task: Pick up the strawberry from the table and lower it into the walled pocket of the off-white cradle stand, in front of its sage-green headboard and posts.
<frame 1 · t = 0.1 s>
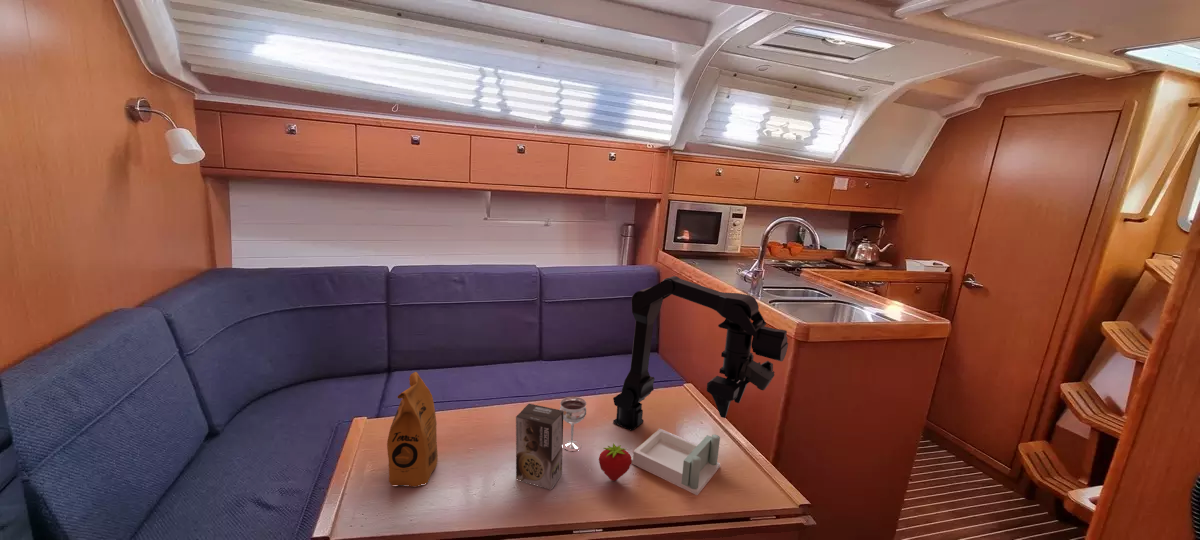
hand: (730, 409, 108), 15 cm above the table, tool pointing down, fingers open, 9 cm apart
coffee box: (539, 477, 103), on the table
wineglass: (571, 446, 116), on the table
strawberry: (613, 481, 103), on the table
coffee package: (414, 472, 103), on the table
cradle stand: (674, 464, 110), on the table
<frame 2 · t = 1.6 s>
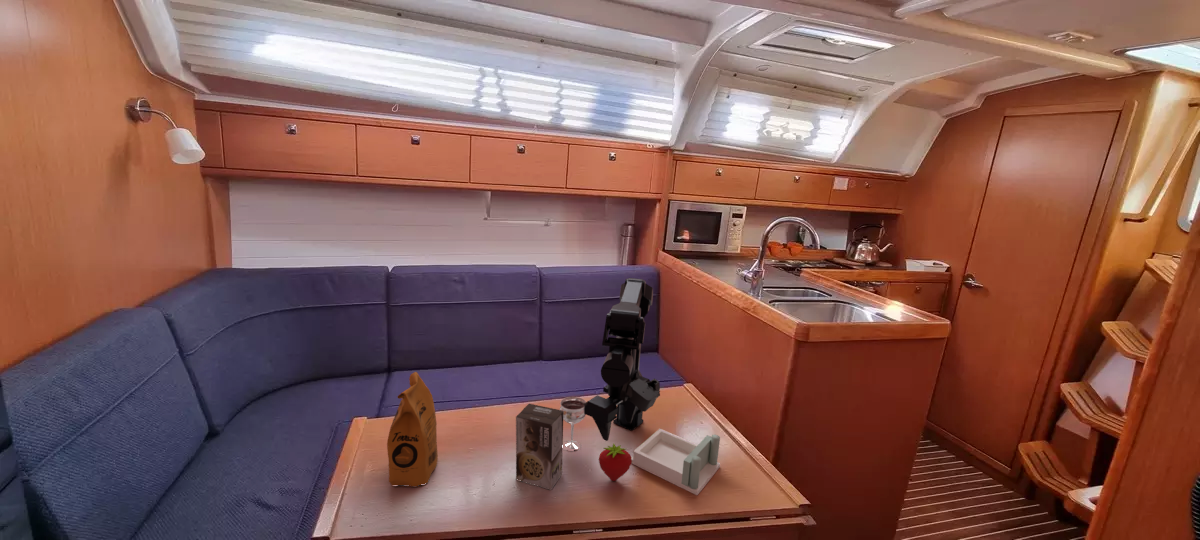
hand: (617, 430, 100), 13 cm above the table, tool pointing down, fingers open, 9 cm apart
nothing on the table moved.
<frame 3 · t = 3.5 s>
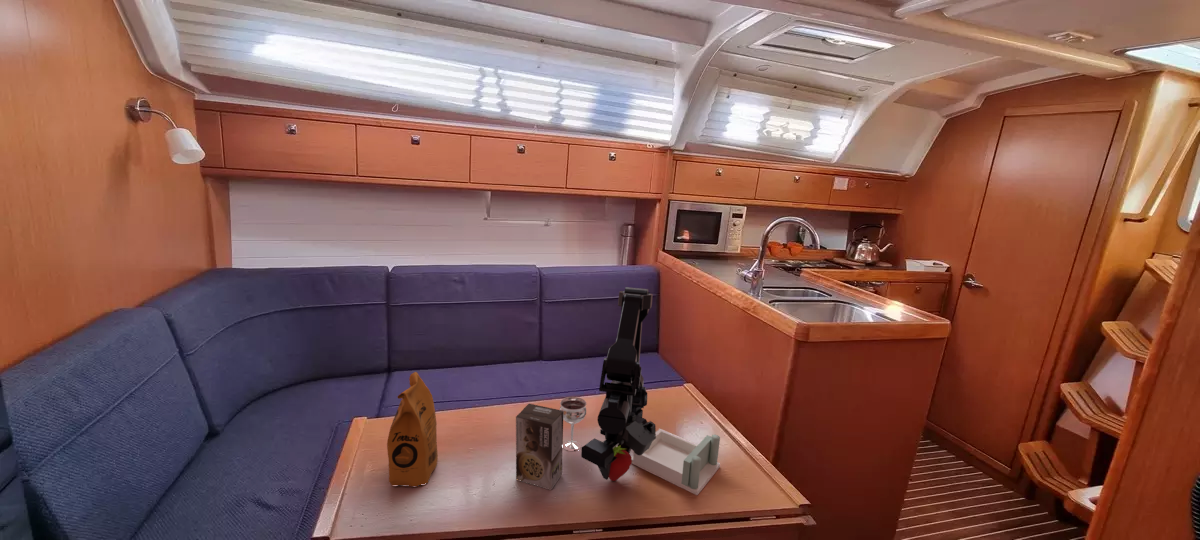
hand: (614, 471, 103), 3 cm above the table, tool pointing down, fingers closed on strawberry, 6 cm apart
strawberry: (613, 481, 103), on the table, touching gripper
everything else where it was.
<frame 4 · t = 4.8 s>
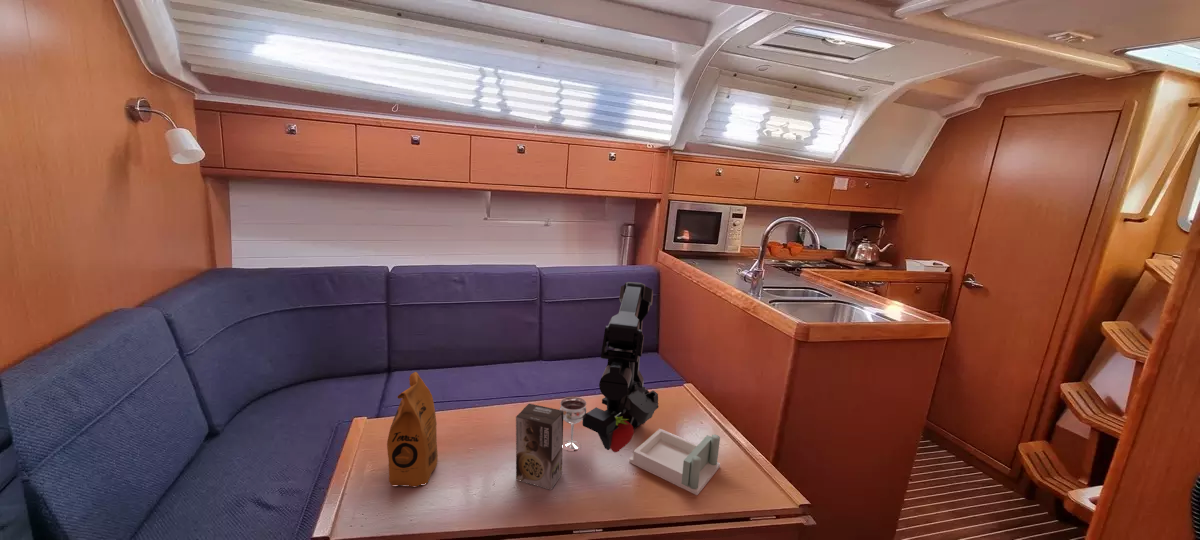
hand: (616, 442, 101), 10 cm above the table, tool pointing down, fingers closed on strawberry, 6 cm apart
strawberry: (615, 453, 102), point 7 cm above the table, touching gripper
everything else where it was.
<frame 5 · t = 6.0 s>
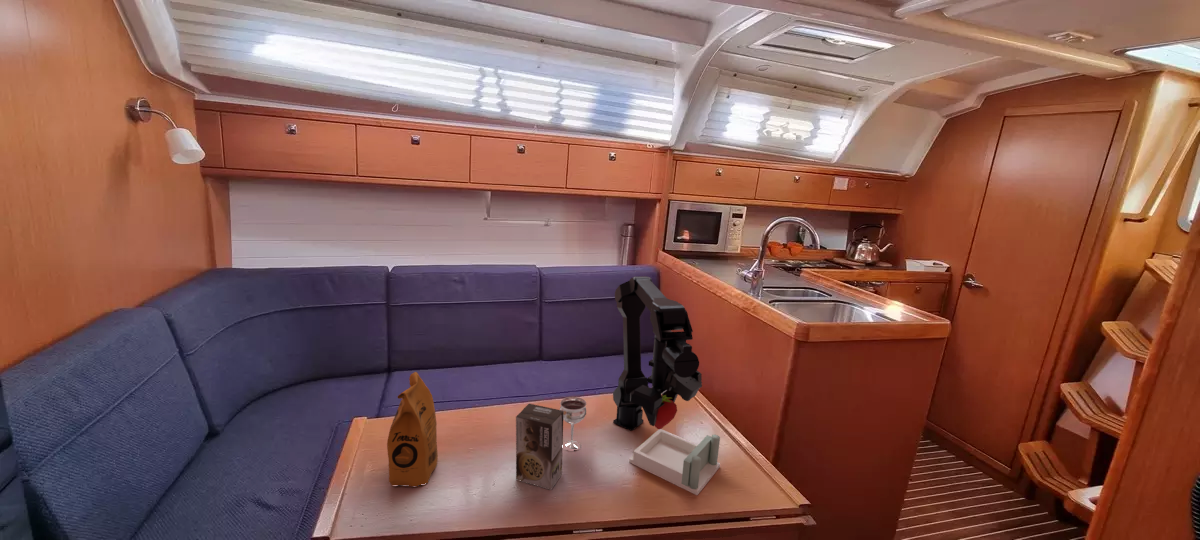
hand: (659, 419, 106), 13 cm above the table, tool pointing down, fingers closed on strawberry, 6 cm apart
strawberry: (659, 429, 107), point 10 cm above the table, touching gripper
everything else where it was.
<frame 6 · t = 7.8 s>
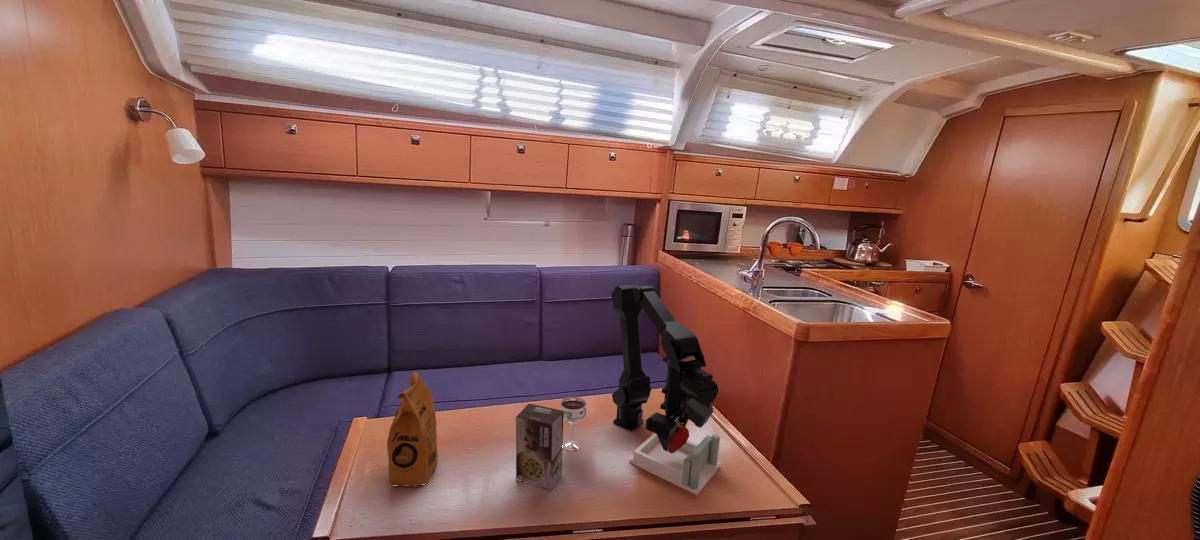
hand: (672, 443, 110), 5 cm above the table, tool pointing down, fingers closed on strawberry, 6 cm apart
strawberry: (671, 453, 110), point 2 cm above the table, touching gripper
everything else where it was.
when the fingers open (5 cm above the table, at t = 8.7 s): strawberry drops 1 cm, resting on cradle stand.
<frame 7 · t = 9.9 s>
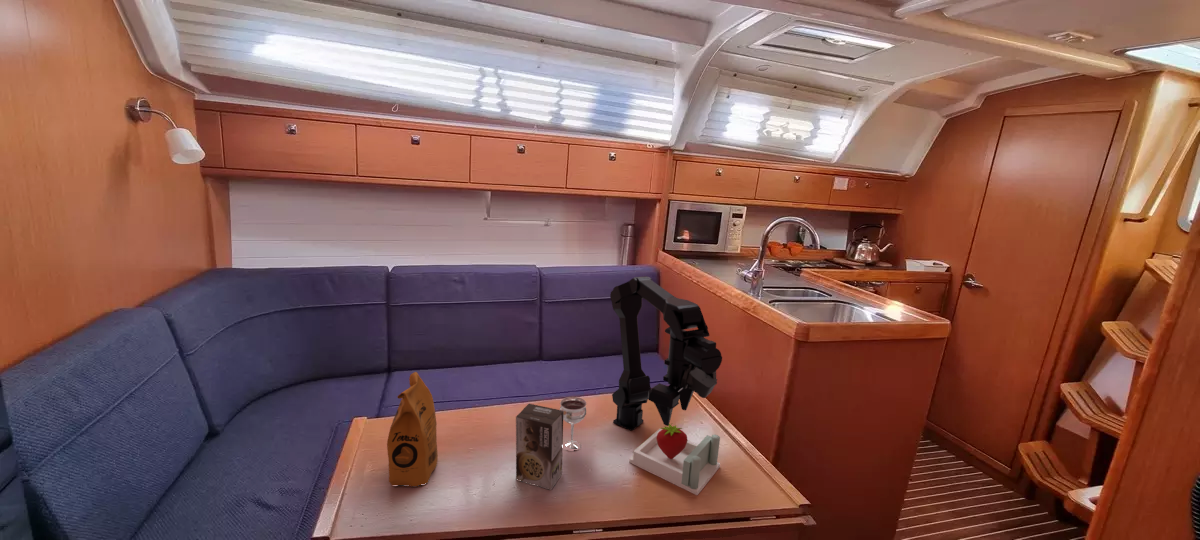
hand: (675, 417, 108), 12 cm above the table, tool pointing down, fingers open, 9 cm apart
strawberry: (671, 459, 111), point 1 cm above the table, touching cradle stand
everything else where it was.
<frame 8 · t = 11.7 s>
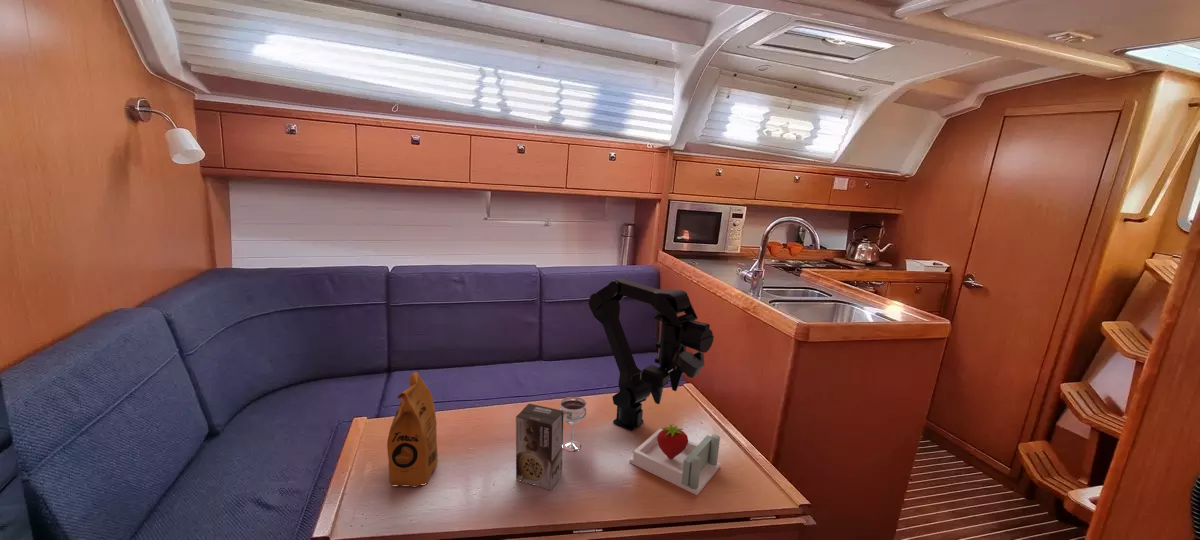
hand: (666, 396, 116), 13 cm above the table, tool pointing down, fingers open, 9 cm apart
nothing on the table moved.
at the end: strawberry inside the target area on the cradle stand (0.1 cm from its centre), point 0.8 cm above the cradle stand's base; strawberry tilted 0°; the gripper is holding nothing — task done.
